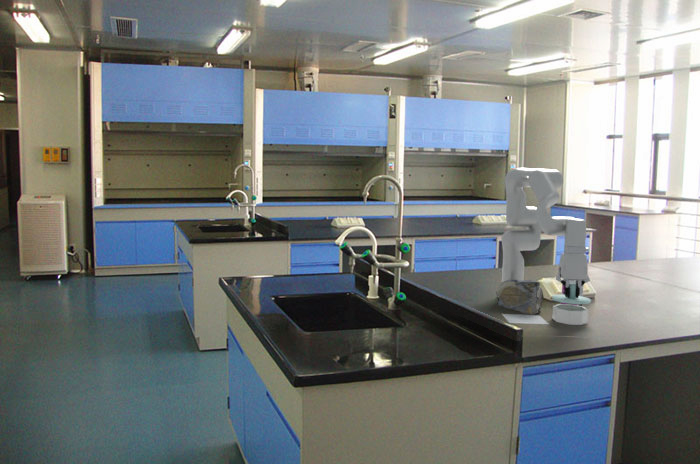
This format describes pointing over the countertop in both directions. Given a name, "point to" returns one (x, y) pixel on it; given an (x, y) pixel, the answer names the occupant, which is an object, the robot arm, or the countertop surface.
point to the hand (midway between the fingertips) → (571, 296)
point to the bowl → (570, 314)
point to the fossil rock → (520, 296)
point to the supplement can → (580, 291)
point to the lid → (572, 297)
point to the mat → (524, 319)
